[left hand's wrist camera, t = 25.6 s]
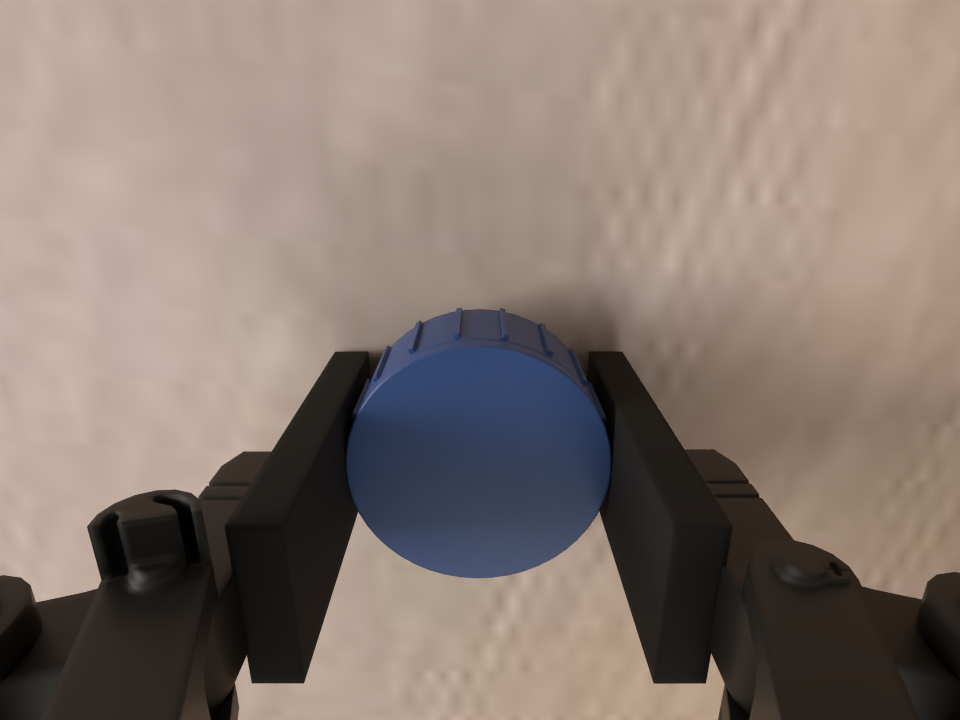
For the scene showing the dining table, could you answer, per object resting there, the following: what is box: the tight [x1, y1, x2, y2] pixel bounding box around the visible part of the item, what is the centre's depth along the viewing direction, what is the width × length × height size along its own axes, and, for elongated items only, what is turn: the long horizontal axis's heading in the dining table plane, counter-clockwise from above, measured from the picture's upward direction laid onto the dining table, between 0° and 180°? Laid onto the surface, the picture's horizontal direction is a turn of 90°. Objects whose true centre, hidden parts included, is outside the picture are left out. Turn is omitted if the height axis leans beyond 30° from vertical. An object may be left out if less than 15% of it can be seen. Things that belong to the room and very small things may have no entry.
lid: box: [346, 308, 612, 578], centre depth 13 cm, size 5×5×2 cm
